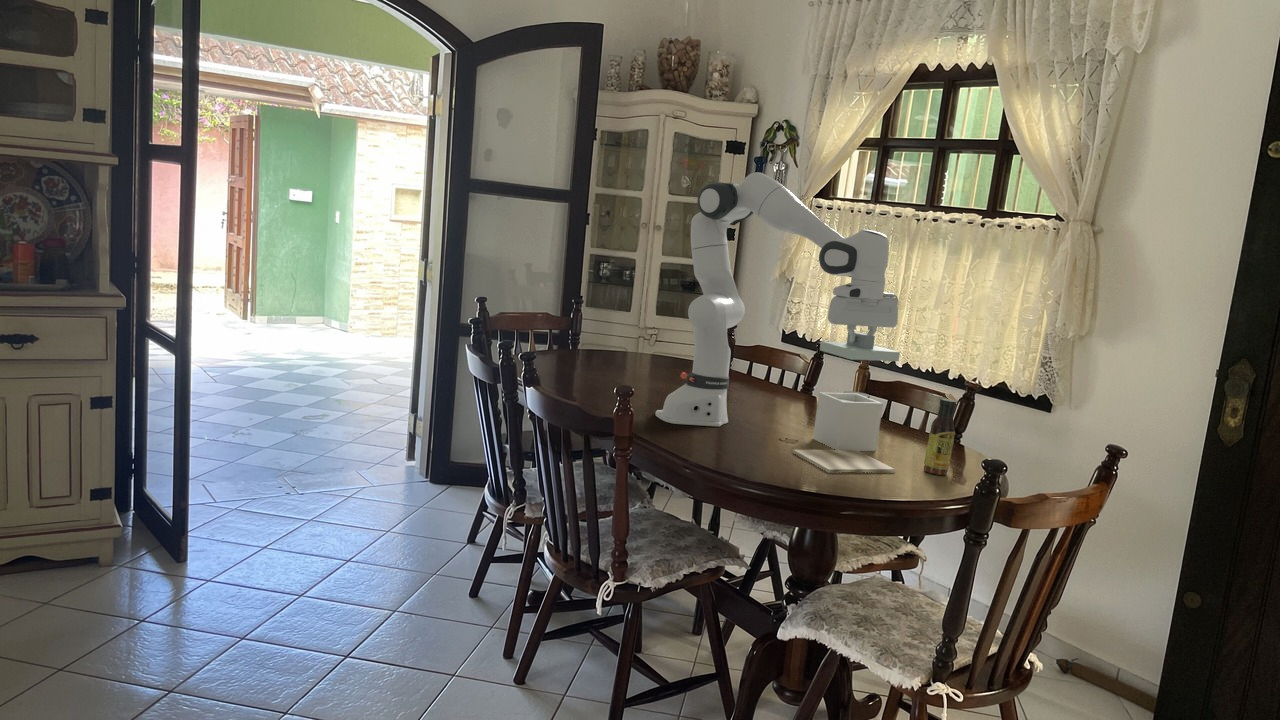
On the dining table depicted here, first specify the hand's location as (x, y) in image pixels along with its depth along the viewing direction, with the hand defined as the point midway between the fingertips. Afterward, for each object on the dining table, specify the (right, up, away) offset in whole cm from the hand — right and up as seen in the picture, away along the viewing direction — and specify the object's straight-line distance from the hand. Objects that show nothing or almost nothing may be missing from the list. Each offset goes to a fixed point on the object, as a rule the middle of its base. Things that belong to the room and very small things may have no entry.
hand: (860, 342), depth 229 cm
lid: (0, -4, +1) cm, 4 cm away
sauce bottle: (+19, -35, -4) cm, 40 cm away
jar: (+7, -27, +37) cm, 46 cm away
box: (0, -29, +18) cm, 34 cm away
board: (-5, -32, -3) cm, 33 cm away
